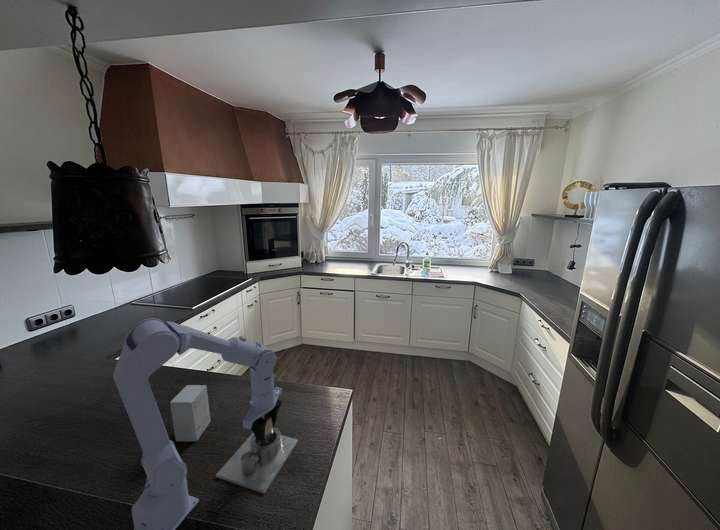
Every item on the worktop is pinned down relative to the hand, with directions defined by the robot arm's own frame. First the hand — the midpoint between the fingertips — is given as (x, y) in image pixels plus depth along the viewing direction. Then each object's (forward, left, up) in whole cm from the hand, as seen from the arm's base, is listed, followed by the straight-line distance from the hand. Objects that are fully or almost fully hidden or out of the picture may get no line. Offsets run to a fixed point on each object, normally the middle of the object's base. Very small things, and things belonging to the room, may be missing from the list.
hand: (265, 432), depth 79 cm
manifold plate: (-3, 0, -6) cm, 6 cm away
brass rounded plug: (0, 0, -2) cm, 2 cm away
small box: (-1, +25, -6) cm, 26 cm away
